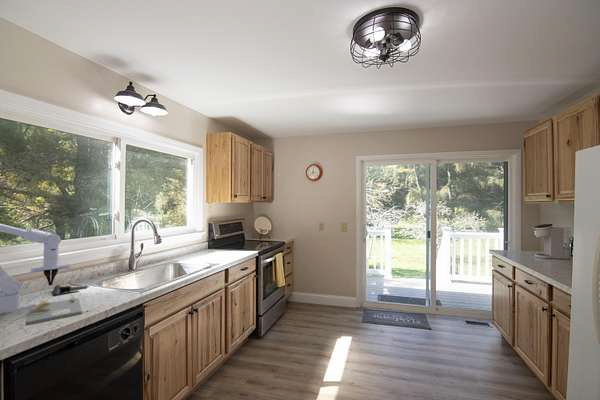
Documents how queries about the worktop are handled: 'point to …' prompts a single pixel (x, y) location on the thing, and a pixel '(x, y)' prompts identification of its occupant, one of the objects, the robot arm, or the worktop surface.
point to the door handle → (66, 290)
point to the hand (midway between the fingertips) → (50, 284)
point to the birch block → (43, 306)
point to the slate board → (46, 315)
